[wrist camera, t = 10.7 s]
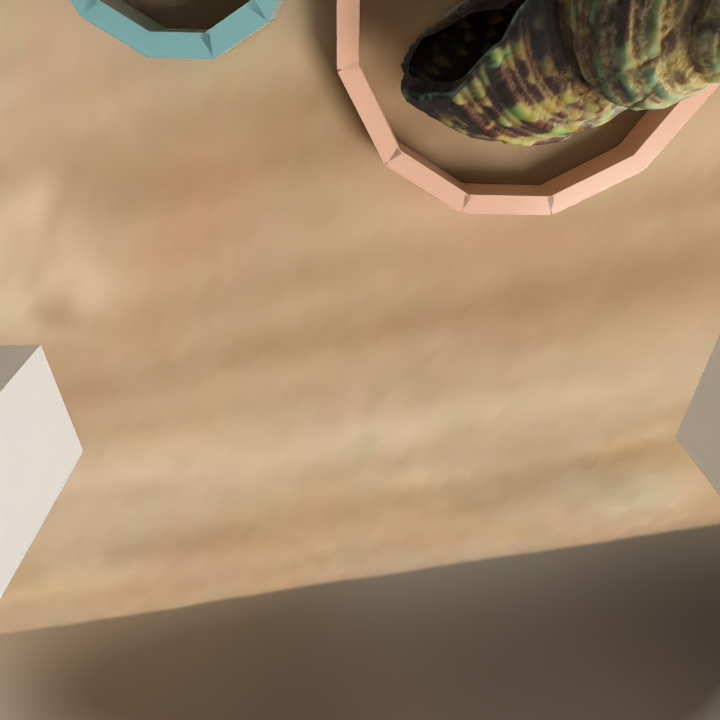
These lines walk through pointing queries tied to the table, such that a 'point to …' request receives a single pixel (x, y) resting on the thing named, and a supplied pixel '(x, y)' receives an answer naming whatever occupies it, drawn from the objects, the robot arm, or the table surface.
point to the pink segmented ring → (504, 197)
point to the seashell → (559, 64)
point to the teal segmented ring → (151, 39)
